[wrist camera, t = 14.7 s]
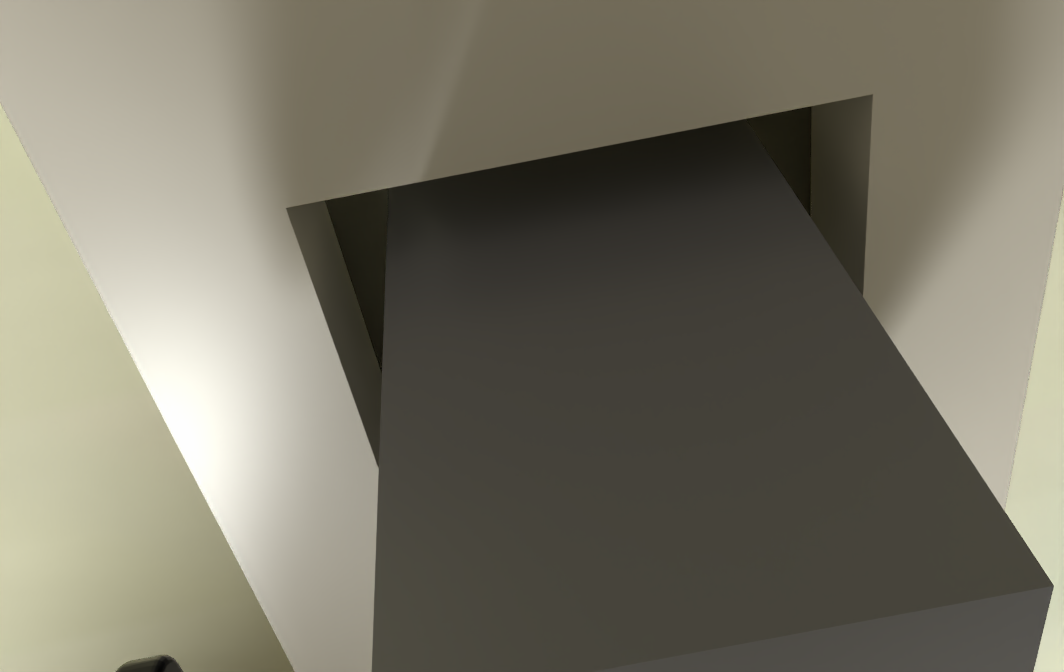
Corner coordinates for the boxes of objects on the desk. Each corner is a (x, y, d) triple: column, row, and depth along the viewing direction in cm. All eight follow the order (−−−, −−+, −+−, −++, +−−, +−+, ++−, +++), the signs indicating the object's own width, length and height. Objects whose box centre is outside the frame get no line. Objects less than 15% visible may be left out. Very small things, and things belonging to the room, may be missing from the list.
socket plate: (932, 531, 16) (984, 621, 15) (337, 642, 16) (331, 742, 15) (1039, -339, 9) (1158, -331, 8) (-17, -128, 9) (-95, -80, 8)
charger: (750, 384, 14) (982, 907, 8) (461, 439, 14) (496, 996, 8) (740, 112, 12) (1061, 596, 6) (389, 181, 12) (368, 725, 6)
